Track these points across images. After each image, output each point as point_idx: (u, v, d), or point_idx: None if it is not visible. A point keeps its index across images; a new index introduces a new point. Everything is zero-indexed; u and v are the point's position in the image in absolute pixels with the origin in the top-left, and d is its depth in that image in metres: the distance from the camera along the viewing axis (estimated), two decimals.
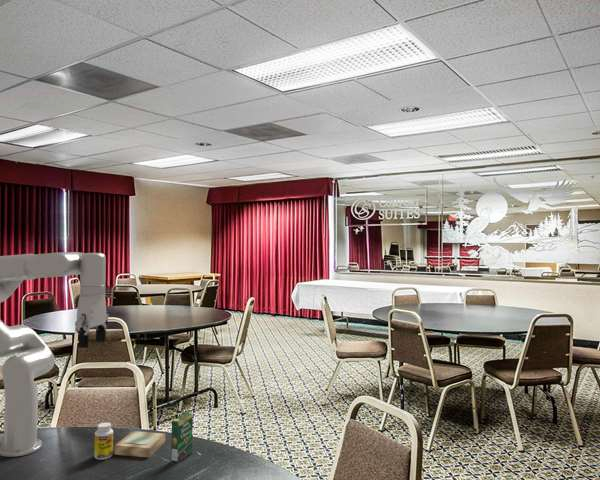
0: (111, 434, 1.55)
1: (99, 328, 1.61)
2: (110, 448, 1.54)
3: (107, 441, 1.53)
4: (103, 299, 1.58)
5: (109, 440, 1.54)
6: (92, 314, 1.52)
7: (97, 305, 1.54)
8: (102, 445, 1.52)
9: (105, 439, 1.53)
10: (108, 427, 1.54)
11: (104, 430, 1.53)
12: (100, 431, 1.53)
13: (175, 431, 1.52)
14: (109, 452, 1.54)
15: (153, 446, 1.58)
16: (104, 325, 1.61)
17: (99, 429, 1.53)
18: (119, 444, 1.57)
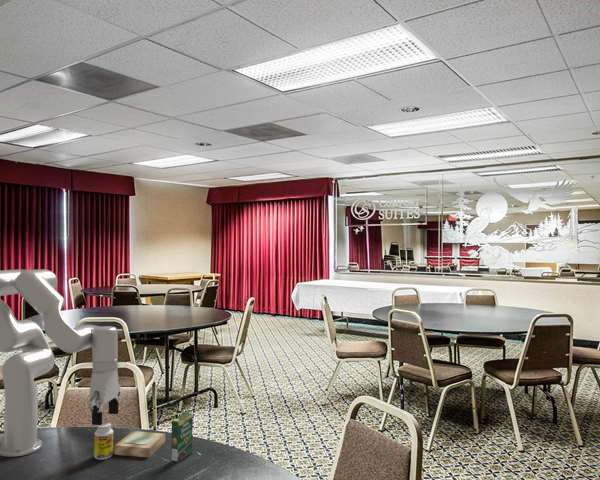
0: (111, 434, 1.55)
1: (112, 400, 1.60)
2: (110, 448, 1.54)
3: (107, 441, 1.53)
4: (115, 372, 1.57)
5: (109, 440, 1.54)
6: (105, 391, 1.51)
7: (110, 380, 1.54)
8: (102, 445, 1.52)
9: (105, 439, 1.53)
10: (108, 427, 1.54)
11: (104, 430, 1.53)
12: (100, 431, 1.53)
13: (175, 431, 1.52)
14: (109, 452, 1.54)
15: (153, 446, 1.58)
16: (117, 397, 1.60)
17: (99, 429, 1.53)
18: (119, 444, 1.57)
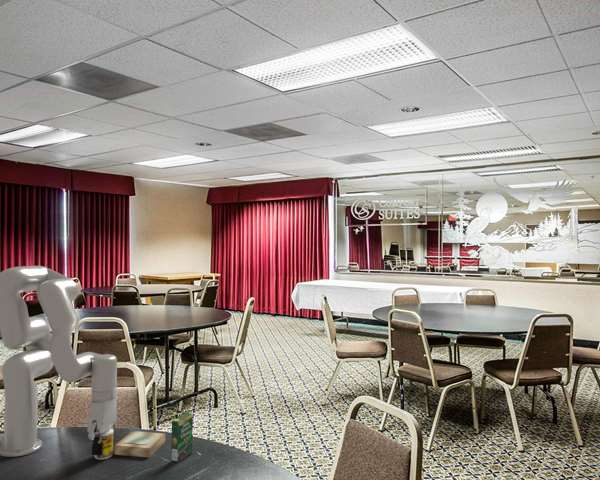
0: (111, 434, 1.55)
1: None
2: (110, 447, 1.54)
3: (107, 441, 1.53)
4: (114, 401, 1.57)
5: (109, 440, 1.54)
6: (103, 420, 1.51)
7: (108, 409, 1.54)
8: None
9: (105, 439, 1.53)
10: (108, 426, 1.54)
11: None
12: None
13: (175, 431, 1.52)
14: (109, 452, 1.54)
15: (153, 446, 1.58)
16: None
17: None
18: (119, 444, 1.57)
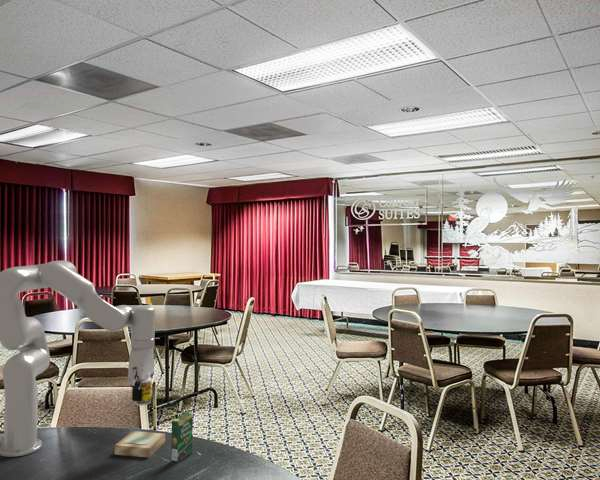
0: (150, 382, 1.61)
1: None
2: (149, 394, 1.61)
3: (146, 388, 1.60)
4: (152, 351, 1.64)
5: (148, 387, 1.60)
6: (143, 368, 1.58)
7: (147, 357, 1.60)
8: None
9: (145, 386, 1.60)
10: (147, 374, 1.61)
11: None
12: None
13: (175, 431, 1.52)
14: (148, 399, 1.61)
15: (153, 446, 1.58)
16: None
17: None
18: (119, 444, 1.57)
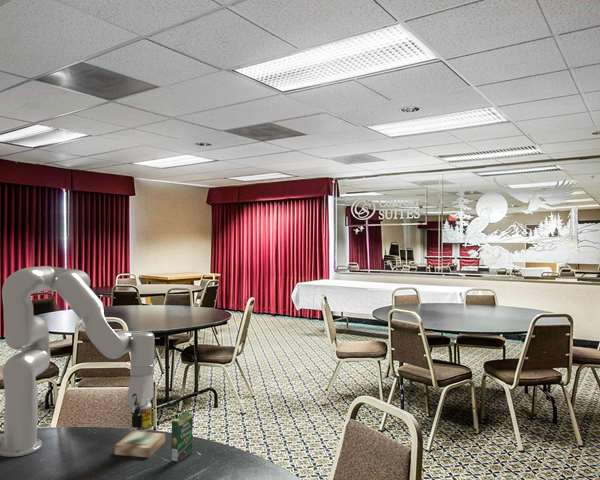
0: (150, 407, 1.61)
1: None
2: (149, 420, 1.61)
3: (146, 414, 1.60)
4: (151, 376, 1.64)
5: (148, 413, 1.60)
6: (143, 394, 1.58)
7: (147, 384, 1.60)
8: None
9: (144, 412, 1.60)
10: (147, 400, 1.61)
11: None
12: None
13: (175, 431, 1.52)
14: (148, 425, 1.61)
15: (153, 446, 1.58)
16: None
17: None
18: (119, 444, 1.57)
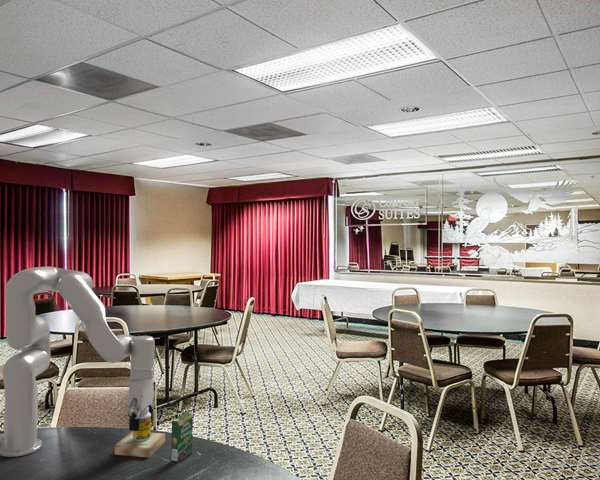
0: (149, 417, 1.61)
1: None
2: (148, 430, 1.61)
3: (145, 423, 1.60)
4: (151, 380, 1.64)
5: (147, 423, 1.61)
6: (142, 398, 1.58)
7: (147, 388, 1.60)
8: (140, 427, 1.59)
9: (144, 421, 1.60)
10: (146, 410, 1.61)
11: (143, 413, 1.60)
12: (139, 414, 1.60)
13: (175, 431, 1.52)
14: (147, 434, 1.61)
15: (153, 446, 1.58)
16: (151, 404, 1.66)
17: None
18: (119, 444, 1.57)
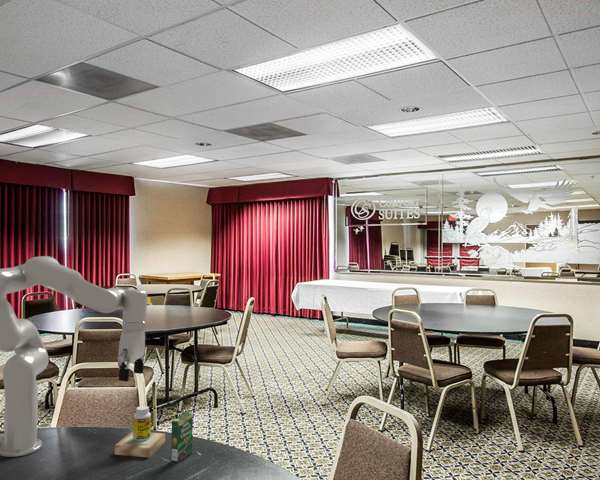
0: (149, 417, 1.61)
1: (137, 360, 1.68)
2: (148, 430, 1.61)
3: (146, 423, 1.60)
4: (143, 334, 1.66)
5: (147, 423, 1.61)
6: (133, 350, 1.60)
7: (138, 340, 1.62)
8: (141, 427, 1.59)
9: (144, 421, 1.60)
10: (146, 410, 1.61)
11: (143, 413, 1.60)
12: (139, 414, 1.60)
13: (175, 431, 1.52)
14: (147, 434, 1.61)
15: (153, 446, 1.58)
16: (142, 358, 1.68)
17: (138, 412, 1.60)
18: (119, 444, 1.57)
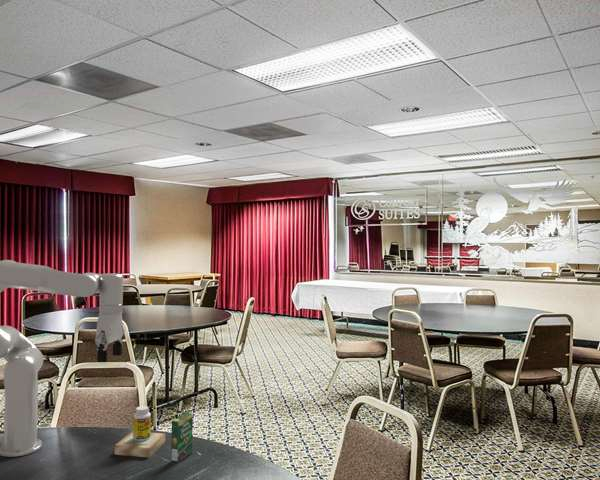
0: (149, 417, 1.61)
1: (116, 343, 1.73)
2: (148, 430, 1.61)
3: (145, 423, 1.60)
4: (120, 316, 1.70)
5: (147, 423, 1.61)
6: (110, 331, 1.64)
7: (115, 322, 1.66)
8: (140, 427, 1.59)
9: (144, 421, 1.60)
10: (146, 410, 1.61)
11: (143, 413, 1.60)
12: (139, 414, 1.60)
13: (175, 431, 1.52)
14: (147, 434, 1.61)
15: (153, 446, 1.58)
16: (120, 340, 1.73)
17: (138, 412, 1.60)
18: (119, 444, 1.57)
